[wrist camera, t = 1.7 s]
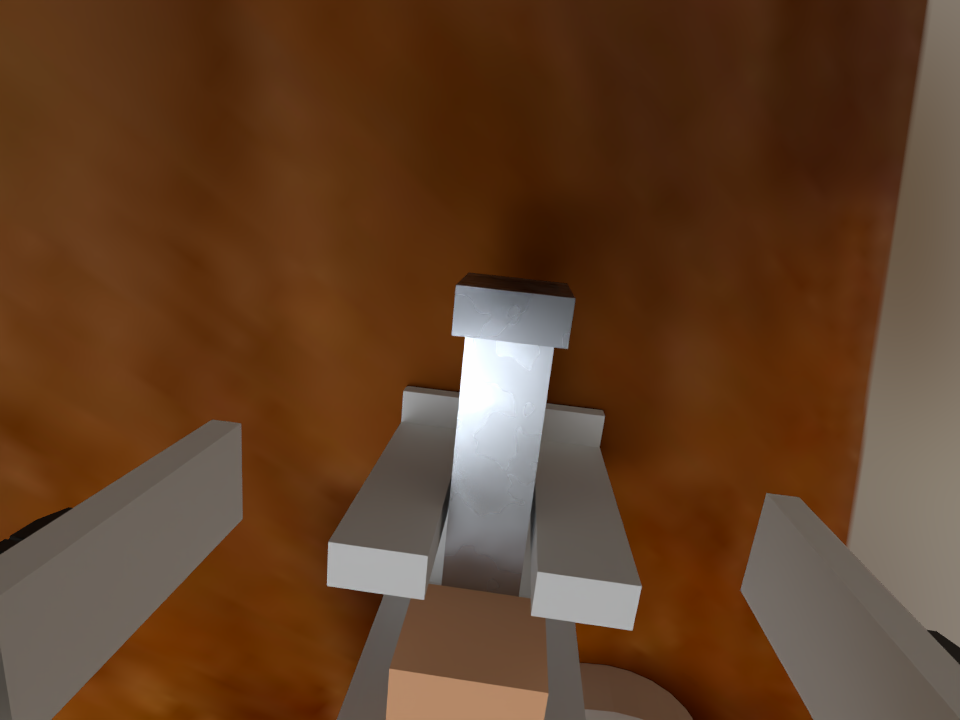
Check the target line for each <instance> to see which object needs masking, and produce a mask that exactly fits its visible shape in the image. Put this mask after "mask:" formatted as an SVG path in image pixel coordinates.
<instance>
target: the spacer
mask: <svg viewBox="0 0 960 720" xmlns="http://www.w3.org/2000/svg"><path fill="white" fill-rule="evenodd" d="M548 694H549V691H548V667H547V643H546V619H545V618H543V617H536V616H531V598H525V597H518V596H511V595H504V594H497V593H490V592H483V591H477V590H470V589H463V588H456V587H449V586H442V585H435V584H428V588H427V591H426V595H425V599H424V600H420V599H413V598H411V599H410V603H409V606H408V609H407V612H406V616H405V619H404V622H403V625H402V629H401V632H400V635H399V639H398V642H397V645H396V648H395V652H394V655H393V658H392V661H391V665H390V668H389V680H388V695H387V709H386V720H544V717H545V711H546V706H547V700H548Z"/></svg>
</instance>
